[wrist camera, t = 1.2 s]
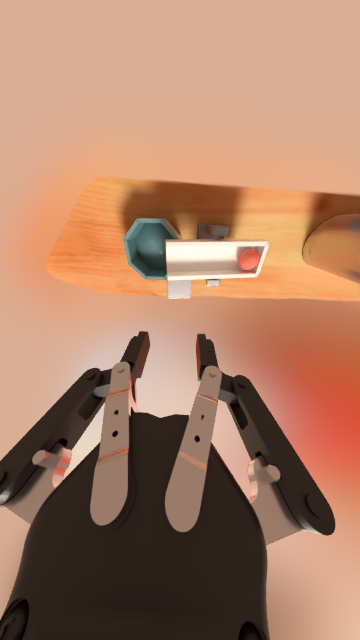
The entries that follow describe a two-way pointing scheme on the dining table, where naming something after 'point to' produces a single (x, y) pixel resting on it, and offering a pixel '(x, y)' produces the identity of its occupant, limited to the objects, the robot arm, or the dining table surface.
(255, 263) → the ball
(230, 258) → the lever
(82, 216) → the dining table surface
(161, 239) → the teal octagonal bowl
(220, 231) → the lever stand
